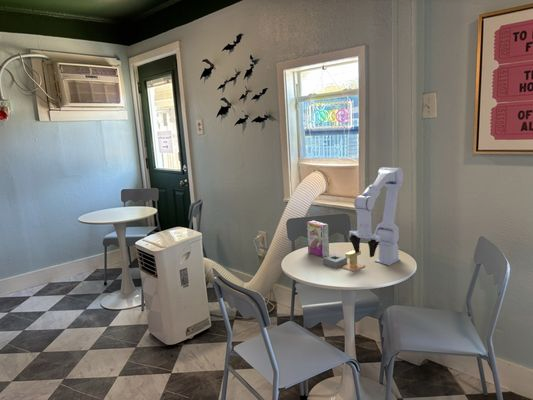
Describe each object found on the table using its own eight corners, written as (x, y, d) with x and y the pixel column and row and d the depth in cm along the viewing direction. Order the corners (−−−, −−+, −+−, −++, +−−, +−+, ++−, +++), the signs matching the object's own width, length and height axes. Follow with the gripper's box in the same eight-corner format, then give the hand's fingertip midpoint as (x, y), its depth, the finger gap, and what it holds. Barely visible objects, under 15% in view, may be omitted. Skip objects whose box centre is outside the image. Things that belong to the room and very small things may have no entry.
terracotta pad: (352, 263, 183) (352, 262, 183) (365, 266, 177) (365, 265, 177) (341, 267, 178) (341, 266, 178) (354, 271, 172) (354, 270, 172)
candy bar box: (307, 252, 201) (306, 221, 197) (314, 250, 203) (313, 220, 200) (322, 258, 192) (321, 226, 188) (329, 255, 194) (328, 224, 191)
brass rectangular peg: (356, 263, 181) (356, 248, 179) (360, 264, 179) (360, 250, 178) (345, 268, 176) (345, 253, 174) (350, 269, 174) (349, 254, 173)
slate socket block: (334, 259, 189) (333, 253, 188) (347, 263, 183) (347, 257, 182) (323, 264, 184) (322, 258, 183) (336, 268, 178) (336, 262, 177)
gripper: (344, 223, 167) (345, 253, 169) (373, 228, 156) (373, 260, 158) (354, 219, 171) (354, 249, 174) (383, 225, 160) (383, 256, 163)
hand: (364, 254), depth 166 cm, fingers open, 7 cm apart
